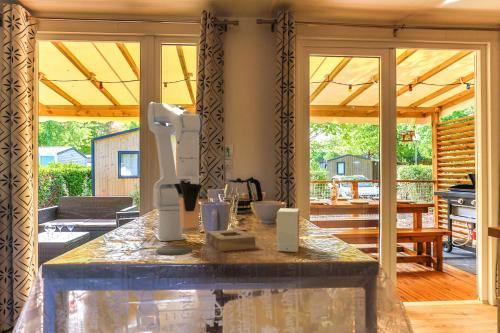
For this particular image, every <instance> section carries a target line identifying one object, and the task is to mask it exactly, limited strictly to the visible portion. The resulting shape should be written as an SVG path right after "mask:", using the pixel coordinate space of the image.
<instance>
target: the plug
mask: <svg viewBox="0 0 500 333" xmlns="http://www.w3.org/2000/svg"><path fill="white" fill-rule="evenodd" d="M179 199H180V222H181V227H182V228H183V230H186V229H187V230H188V229H194V228H200V215H199V214H200V210H199V196H198V197H197V201H196V205H195V209H194V211H186V210H185V205H184V198H183V194H179Z"/></svg>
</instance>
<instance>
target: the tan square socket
mask: <svg viewBox="0 0 500 333" xmlns="http://www.w3.org/2000/svg"><path fill="white" fill-rule="evenodd" d="M206 236H207V238H206V239H207V240H206V242H207V243H208V244H210V245H211V246H212V247H214V248H215V249H217V250H219V251H220V252H226V251H236V250H237V251H238V250H245V249H256V236H255V235H252V234H250V233H248V232H246V231H243V230H241V229H240V228H239V229H228V230H227V229H226V230H225V229H224V230H215V231H214V230H213V231H207V234H206Z"/></svg>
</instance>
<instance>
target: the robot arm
mask: <svg viewBox="0 0 500 333" xmlns="http://www.w3.org/2000/svg"><path fill="white" fill-rule="evenodd" d="M185 108H186V107H185V106H183V105H182V106H181V105H180V104H171V103H163V102H162V103H161V102H160V103H159V102H153V101H151V102H150V103H148V106H147V123H148V127H149V131H150V132H152V133H154V138H155V141H156V150H157V157H158V165H159V173H160V179H159V180H157V181H156V182H155V183H154V185H153V187H152V202H153V204H152V205H153V206H154V208H155V209H156V210H158V216H157V233H156V234H155V233H154V237H155V238H156V239H157V240H158V242H168V241H169V242H170V241H182V240H186V239H187V237H186V236H185V235H183V230H184V228H182V227H181V222H180V199H179V194H183V198H184V205H185V210H186V211H194V209H195V205H196V201H197V197H198V198H199V195H200V191H201V190H202V187H203V184H200V179H204V175H201V174H200V173H199V172H200V136H201V135H202V133H203V128H204V120H203V116H202V115H201V114H199V113H197V114H193V113H191V112H190V110H187V109H185ZM173 134H174V135H175V142H176V143H177V144H176V145H177V146H176V147H177V148H176V149H177V152H176V161H177V162H176V165H175V159H174V158H175V156H174V151H173V144H172V135H173Z"/></svg>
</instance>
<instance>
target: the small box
mask: <svg viewBox="0 0 500 333" xmlns="http://www.w3.org/2000/svg"><path fill="white" fill-rule="evenodd" d="M299 247H300V208H291V207H290V208H285V207H280V208H279V209H278V211H276V251H277V252H293V253H297V252H299Z"/></svg>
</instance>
